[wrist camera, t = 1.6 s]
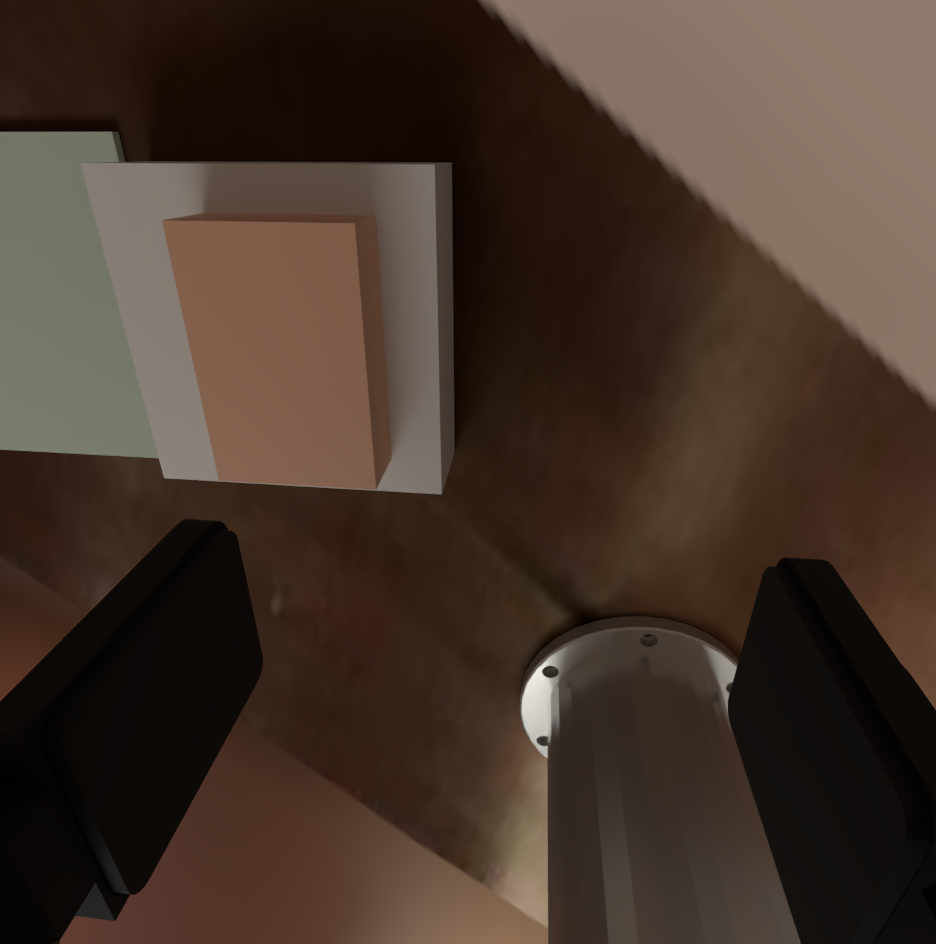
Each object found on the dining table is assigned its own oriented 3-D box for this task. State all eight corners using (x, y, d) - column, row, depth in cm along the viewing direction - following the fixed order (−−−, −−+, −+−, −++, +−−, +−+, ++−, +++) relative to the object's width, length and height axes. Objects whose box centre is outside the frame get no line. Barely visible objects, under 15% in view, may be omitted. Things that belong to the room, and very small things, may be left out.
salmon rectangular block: (391, 459, 24) (376, 489, 22) (247, 451, 25) (218, 480, 23) (375, 215, 20) (354, 223, 18) (202, 213, 20) (161, 220, 18)
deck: (454, 451, 28) (441, 494, 25) (209, 439, 29) (164, 478, 26) (451, 162, 22) (434, 164, 19) (149, 161, 24) (80, 162, 20)
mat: (194, 456, 30) (190, 459, 30) (-62, 442, 31) (-69, 445, 31) (118, 131, 23) (111, 131, 23) (-202, 132, 25) (-213, 132, 24)
